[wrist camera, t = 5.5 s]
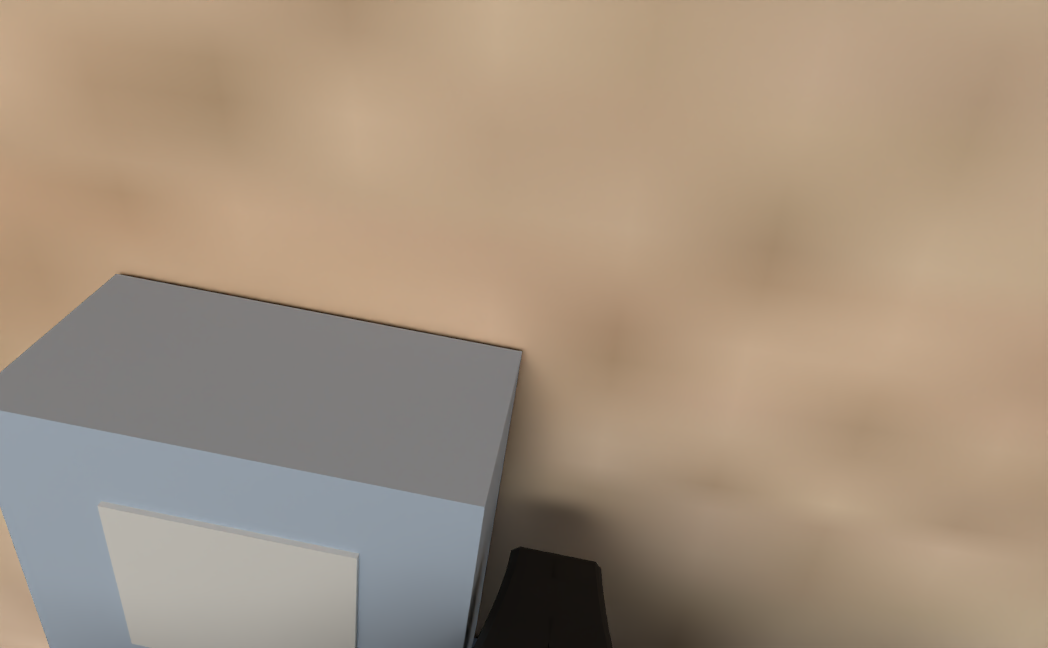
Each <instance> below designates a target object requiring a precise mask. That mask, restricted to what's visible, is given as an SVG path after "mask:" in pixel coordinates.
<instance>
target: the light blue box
mask: <svg viewBox="0 0 1048 648" xmlns="http://www.w3.org/2000/svg"><path fill="white" fill-rule="evenodd" d="M521 356H522V351H517V350H511V349H506V348H501V347H496V346H490V345H485V344H480V343H475V342H470V341H464V340H459V339H454V338H449V337H444V336H438V335H433V334H428V333H423V332H417V331H412V330H407V329H402V328H397V327H391V326H386V325H381V324H376V323H370V322H365V321H360V320H355V319H350V318H344V317H339V316H334V315H329V314H323V313H318V312H313V311H308V310H303V309H297V308H292V307H287V306H282V305H276V304H271V303H266V302H261V301H256V300H250V299H245V298H240V297H235V296H229V295H224V294H219V293H214V292H209V291H203V290H198V289H193V288H188V287H182V286H177V285H172V284H167V283H162V282H156V281H151V280H146V279H141V278H136V277H130V276H125V275H120V274H115V275H114V276H113V277H112V278H111V279H109V280H108V281H107V282H106V283H105V284H104V285H102V286H101V287H100V288H99V289H98V290H97V291H95V292H94V293H93V294H92V295H91V296H89V297H88V298H87V299H86V300H85V301H84V302H82V303H81V304H80V305H79V306H78V307H77V308H75V309H74V310H73V311H72V312H71V313H70V314H68V315H67V316H66V317H65V318H64V319H62V320H61V321H60V322H59V323H58V324H57V325H55V326H54V327H53V328H52V329H51V330H50V331H48V332H47V333H46V334H45V335H44V336H42V337H41V338H40V339H39V340H38V341H37V342H35V343H34V344H33V345H32V346H31V347H30V348H28V349H27V350H26V351H25V352H24V353H22V354H21V355H20V356H19V357H18V358H17V359H15V360H14V361H13V362H12V363H11V364H10V365H8V366H7V367H6V368H5V369H4V370H2V371H1V372H0V507H1V510H2V513H3V516H4V519H5V521H6V524H7V527H8V530H9V533H10V536H11V538H12V541H13V544H14V547H15V550H16V553H17V556H18V558H19V561H20V564H21V567H22V570H23V573H24V575H25V578H26V581H27V584H28V587H29V590H30V593H31V595H32V598H33V601H34V604H35V607H36V610H37V612H38V615H39V618H40V621H41V624H42V627H43V630H44V632H45V635H46V638H47V641H48V644H49V647H50V648H472V644H473V639H474V635H475V630H476V626H477V620H478V614H479V608H480V602H481V596H482V590H483V584H484V578H485V572H486V566H487V560H488V554H489V548H490V542H491V536H492V530H493V524H494V518H495V512H496V506H497V500H498V494H499V488H500V482H501V476H502V470H503V464H504V458H505V452H506V446H507V440H508V434H509V428H510V422H511V416H512V410H513V404H514V398H515V392H516V386H517V380H518V374H519V368H520V362H521Z"/></svg>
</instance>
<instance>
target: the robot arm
mask: <svg viewBox="0 0 1048 648" xmlns="http://www.w3.org/2000/svg"><path fill="white" fill-rule="evenodd" d="M473 648H612V643H611V638H610V633H609V627H608V622H607V616H606V609H605V603H604V595H603V586H602V574H601V568H600V567H599V566H598V564H597V563H596V562H593V561H588V560H583V559H578V558H573V557H568V556H564V555H559V554H554V553H549V552H544V551H539V550H534V549H529V548H524V547H518V548H516V549H514V550H511V554H510V558H509V562H508V566H507V570H506V573H505V576H504V579H503V581H502V584H501V587H500V590H499V592H498V595H497V597H496V600H495V602H494V605H493V607H492V609H491V611H490V613H489V616H488V618H487V620H486V622H485V624H484V627H483V629H482V631H481V633H480V635H479V637H478V639H477V641H476V643H475V645H474V647H473Z"/></svg>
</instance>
